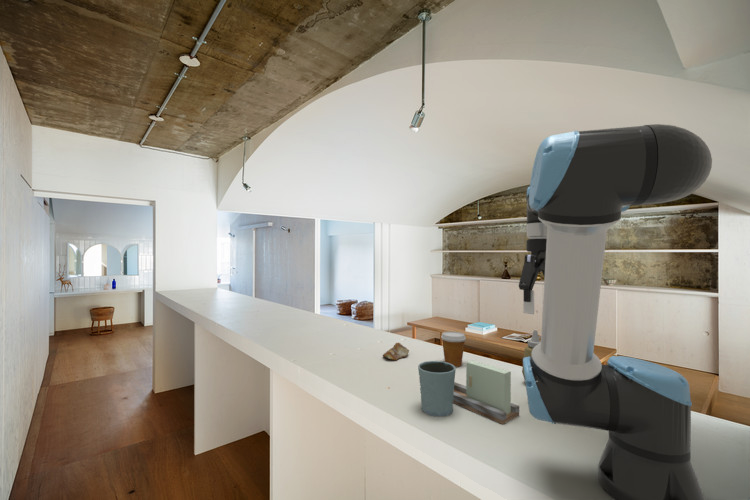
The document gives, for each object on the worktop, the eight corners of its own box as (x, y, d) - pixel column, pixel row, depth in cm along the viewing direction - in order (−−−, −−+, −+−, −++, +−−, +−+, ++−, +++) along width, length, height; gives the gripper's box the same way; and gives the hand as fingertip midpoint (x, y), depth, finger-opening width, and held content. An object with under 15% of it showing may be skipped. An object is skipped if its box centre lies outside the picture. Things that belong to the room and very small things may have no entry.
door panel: (510, 412, 91) (510, 371, 91) (503, 416, 89) (503, 373, 89) (472, 397, 101) (472, 360, 101) (465, 400, 99) (465, 362, 99)
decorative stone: (412, 342, 149) (399, 355, 135) (412, 352, 149) (400, 366, 136) (392, 339, 153) (377, 352, 139) (392, 349, 153) (378, 362, 140)
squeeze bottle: (520, 386, 112) (521, 331, 112) (523, 378, 119) (523, 327, 120) (548, 391, 108) (548, 334, 109) (549, 383, 116) (549, 329, 116)
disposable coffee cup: (466, 369, 129) (466, 337, 129) (440, 367, 130) (440, 336, 131) (465, 361, 138) (465, 332, 138) (440, 360, 140) (441, 330, 140)
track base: (519, 415, 92) (519, 405, 92) (502, 424, 87) (502, 414, 87) (448, 387, 111) (448, 379, 111) (431, 393, 106) (431, 385, 106)
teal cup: (459, 407, 97) (460, 364, 97) (448, 421, 88) (448, 375, 88) (426, 399, 102) (426, 358, 102) (412, 412, 93) (412, 368, 93)
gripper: (547, 240, 111) (547, 305, 111) (505, 237, 95) (505, 313, 95) (572, 239, 105) (572, 308, 105) (532, 236, 89) (531, 317, 89)
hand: (540, 311), depth 100 cm, fingers open, 13 cm apart
